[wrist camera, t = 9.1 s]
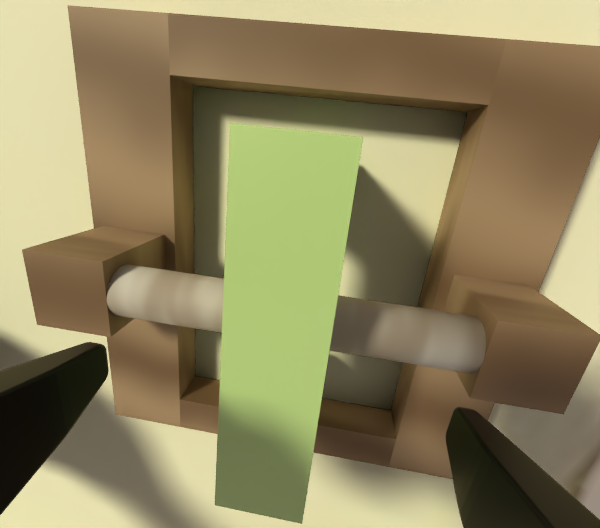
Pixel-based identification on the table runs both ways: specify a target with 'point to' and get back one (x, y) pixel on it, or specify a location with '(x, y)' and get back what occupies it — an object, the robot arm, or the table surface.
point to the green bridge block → (279, 309)
